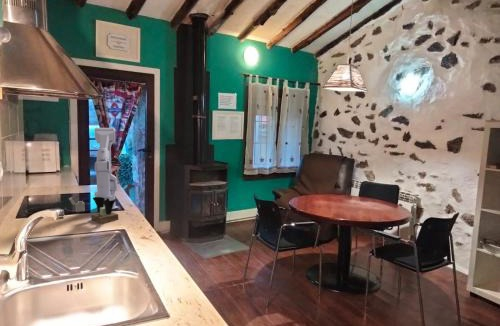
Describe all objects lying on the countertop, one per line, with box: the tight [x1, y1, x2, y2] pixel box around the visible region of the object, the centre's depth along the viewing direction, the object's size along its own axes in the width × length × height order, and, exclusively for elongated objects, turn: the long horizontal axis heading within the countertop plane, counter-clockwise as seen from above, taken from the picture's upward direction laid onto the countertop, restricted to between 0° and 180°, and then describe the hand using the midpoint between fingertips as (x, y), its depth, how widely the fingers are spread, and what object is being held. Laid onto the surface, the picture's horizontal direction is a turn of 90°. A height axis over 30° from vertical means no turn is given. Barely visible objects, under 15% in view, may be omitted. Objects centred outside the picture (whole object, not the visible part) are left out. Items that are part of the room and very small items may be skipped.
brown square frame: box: [90, 211, 119, 225], centre depth 163 cm, size 9×9×2 cm
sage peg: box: [99, 207, 108, 216], centre depth 163 cm, size 3×3×6 cm
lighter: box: [68, 196, 86, 213], centre depth 175 cm, size 7×2×8 cm, turn 130°
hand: (104, 212), depth 163 cm, fingers open, 7 cm apart
